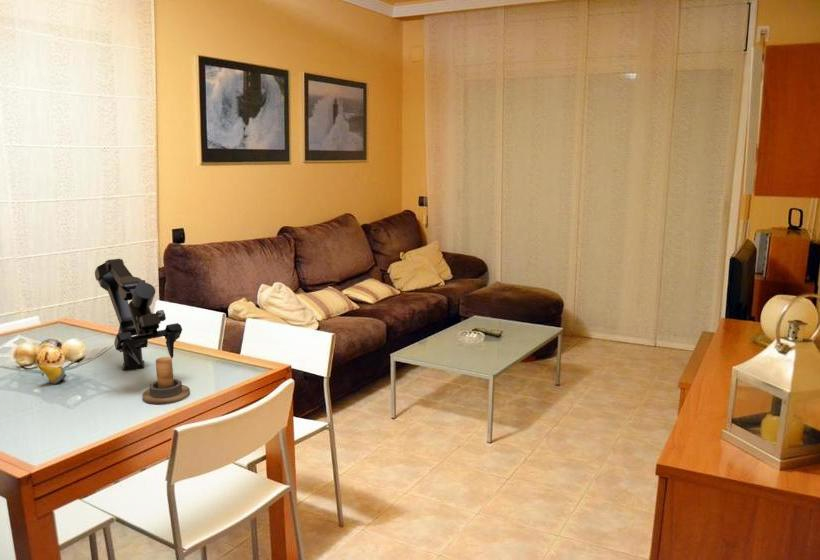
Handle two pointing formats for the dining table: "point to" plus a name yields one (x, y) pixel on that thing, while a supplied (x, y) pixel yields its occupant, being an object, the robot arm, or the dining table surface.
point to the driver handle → (164, 372)
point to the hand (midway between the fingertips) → (156, 360)
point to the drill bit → (53, 373)
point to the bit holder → (166, 393)
